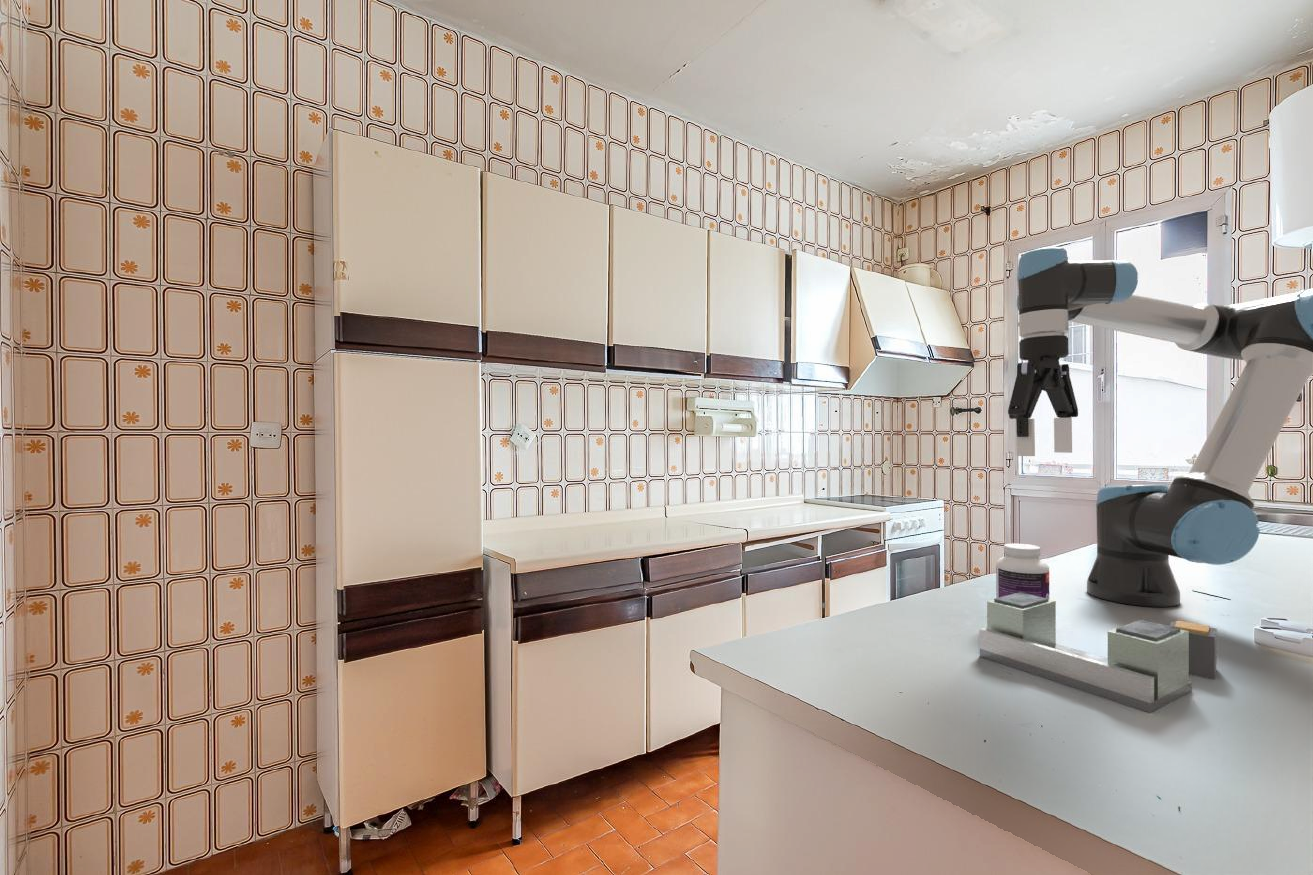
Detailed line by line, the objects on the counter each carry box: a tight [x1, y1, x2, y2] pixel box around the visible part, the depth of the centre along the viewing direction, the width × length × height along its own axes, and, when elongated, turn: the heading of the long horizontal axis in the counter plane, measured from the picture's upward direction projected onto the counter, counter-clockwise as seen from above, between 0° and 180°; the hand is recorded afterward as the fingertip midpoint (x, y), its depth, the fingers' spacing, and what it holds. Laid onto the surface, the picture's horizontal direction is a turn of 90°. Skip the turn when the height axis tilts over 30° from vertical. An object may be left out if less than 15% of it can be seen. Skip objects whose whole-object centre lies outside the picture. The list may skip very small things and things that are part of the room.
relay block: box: [1169, 620, 1218, 681], centre depth 88 cm, size 5×5×6 cm
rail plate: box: [978, 592, 1193, 714], centre depth 88 cm, size 12×22×9 cm, turn 30°
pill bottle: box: [995, 542, 1050, 600], centre depth 107 cm, size 8×8×14 cm
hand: (1045, 454), depth 111 cm, fingers open, 13 cm apart
